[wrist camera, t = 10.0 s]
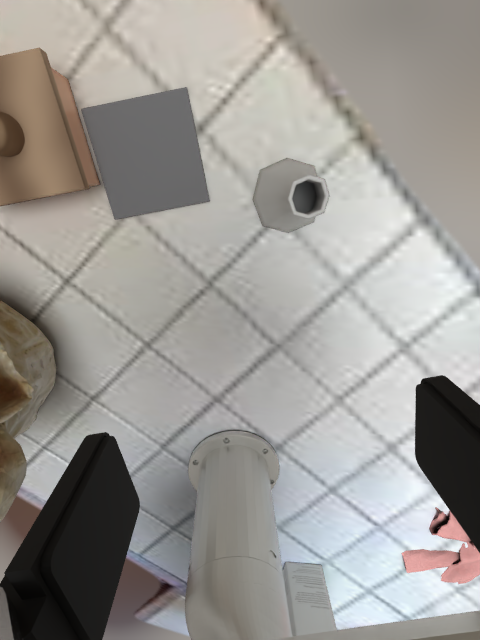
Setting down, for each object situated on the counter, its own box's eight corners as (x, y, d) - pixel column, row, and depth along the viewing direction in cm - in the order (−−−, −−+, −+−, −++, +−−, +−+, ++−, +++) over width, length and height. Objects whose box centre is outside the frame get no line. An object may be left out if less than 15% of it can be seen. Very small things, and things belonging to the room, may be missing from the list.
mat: (209, 201, 34) (209, 201, 34) (115, 219, 35) (114, 219, 34) (187, 88, 31) (186, 87, 30) (82, 109, 31) (81, 108, 31)
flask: (254, 235, 36) (263, 249, 26) (250, 160, 33) (258, 147, 24) (321, 229, 36) (354, 242, 26) (322, 155, 33) (359, 139, 24)
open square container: (100, 184, 33) (81, 183, 29) (14, 201, 34) (-17, 202, 30) (68, 79, 30) (41, 61, 26) (-27, 99, 31) (-67, 84, 26)
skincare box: (310, 595, 57) (337, 731, 43) (273, 592, 57) (288, 729, 42) (322, 562, 55) (356, 696, 40) (283, 559, 54) (303, 694, 39)
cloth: (467, 587, 59) (476, 603, 57) (356, 566, 56) (361, 582, 54) (535, 506, 52) (549, 520, 50) (413, 477, 49) (422, 491, 47)
